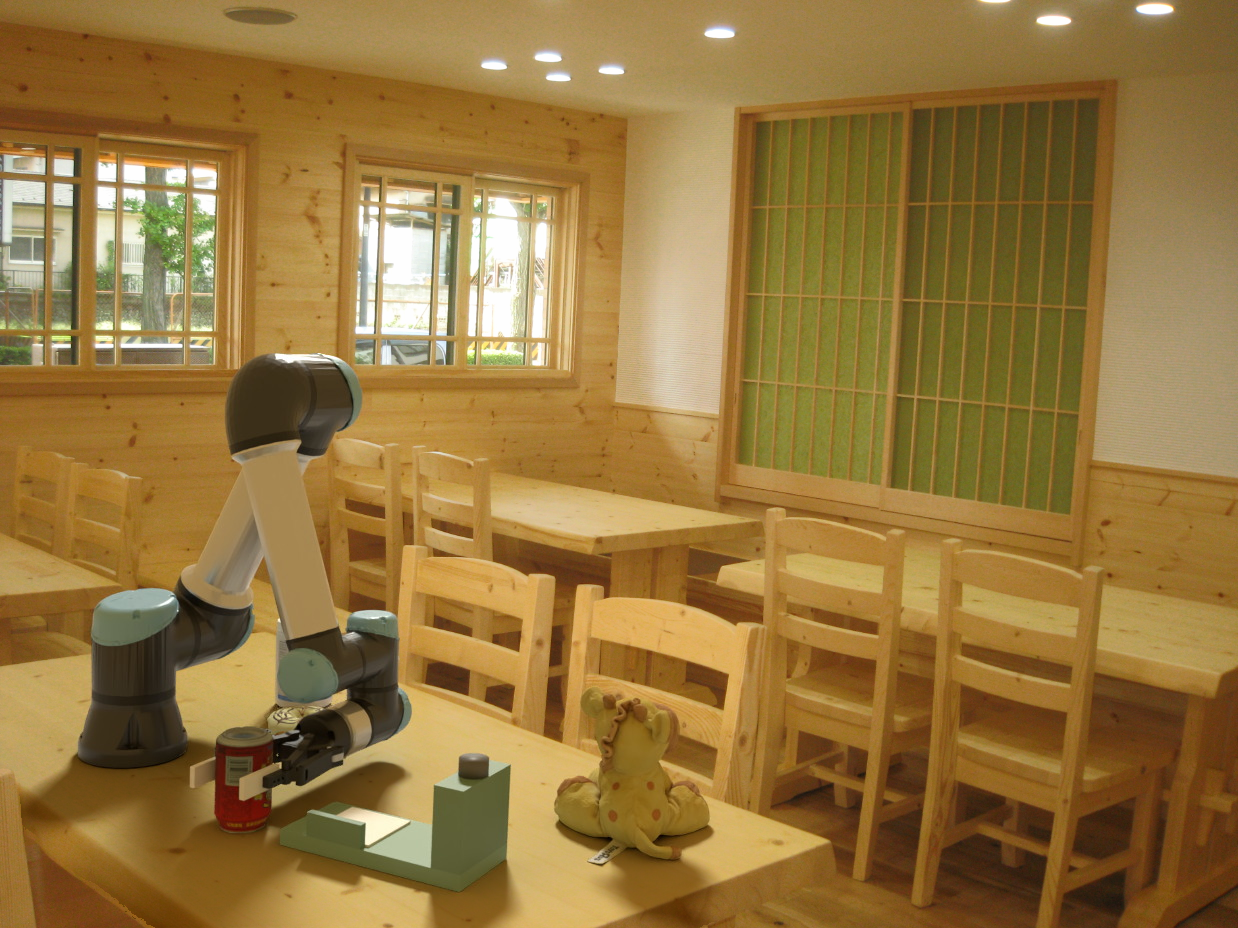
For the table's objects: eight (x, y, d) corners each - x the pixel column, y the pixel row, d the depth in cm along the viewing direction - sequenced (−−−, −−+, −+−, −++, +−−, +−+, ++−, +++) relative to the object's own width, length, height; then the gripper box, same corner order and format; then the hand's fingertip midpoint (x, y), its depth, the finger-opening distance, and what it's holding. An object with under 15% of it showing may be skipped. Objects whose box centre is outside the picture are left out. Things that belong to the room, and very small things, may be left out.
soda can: (272, 833, 159) (274, 738, 158) (213, 837, 157) (215, 741, 156) (270, 812, 166) (272, 722, 164) (214, 816, 163) (215, 724, 162)
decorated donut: (260, 745, 192) (261, 721, 192) (274, 723, 203) (275, 701, 203) (329, 747, 193) (330, 723, 193) (340, 725, 204) (340, 702, 203)
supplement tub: (340, 708, 213) (343, 622, 211) (285, 714, 207) (287, 627, 206) (320, 693, 221) (322, 611, 219) (266, 699, 215) (269, 615, 214)
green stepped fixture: (279, 844, 156) (282, 734, 154) (334, 815, 166) (337, 712, 164) (459, 891, 145) (464, 774, 144) (506, 858, 155) (511, 748, 154)
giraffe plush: (715, 809, 175) (723, 675, 173) (689, 878, 152) (698, 724, 150) (573, 791, 179) (580, 660, 178) (527, 855, 156) (534, 705, 154)
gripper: (390, 773, 173) (280, 829, 152) (273, 747, 181) (154, 796, 160) (392, 720, 172) (282, 769, 151) (275, 696, 181) (155, 739, 160)
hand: (216, 783), depth 156 cm, fingers open, 7 cm apart
